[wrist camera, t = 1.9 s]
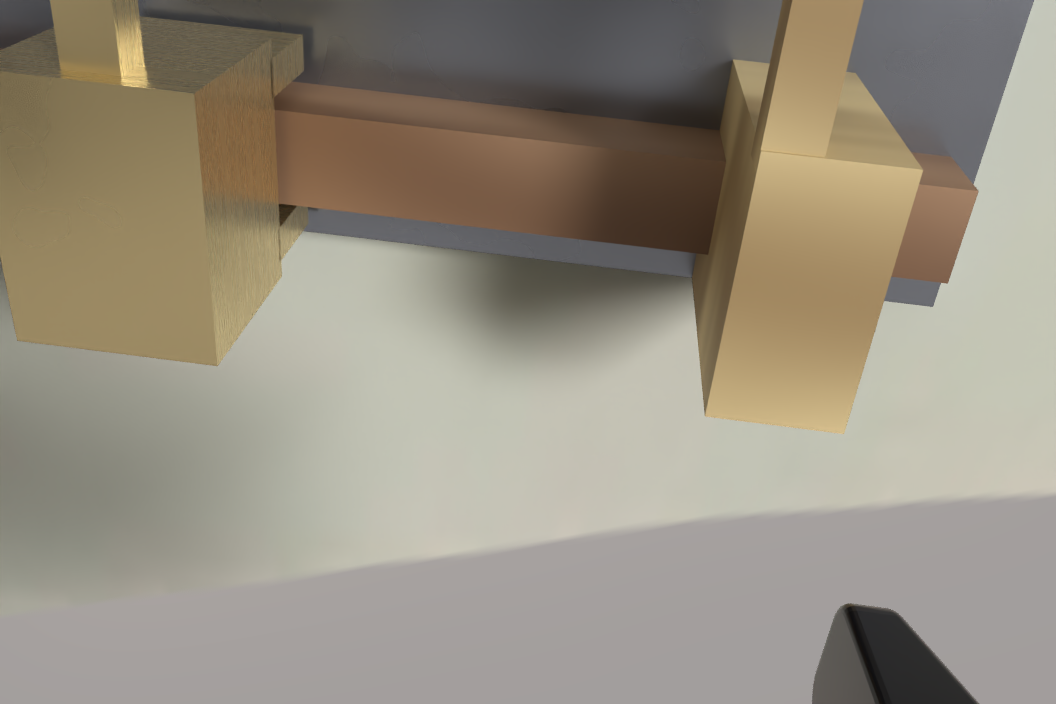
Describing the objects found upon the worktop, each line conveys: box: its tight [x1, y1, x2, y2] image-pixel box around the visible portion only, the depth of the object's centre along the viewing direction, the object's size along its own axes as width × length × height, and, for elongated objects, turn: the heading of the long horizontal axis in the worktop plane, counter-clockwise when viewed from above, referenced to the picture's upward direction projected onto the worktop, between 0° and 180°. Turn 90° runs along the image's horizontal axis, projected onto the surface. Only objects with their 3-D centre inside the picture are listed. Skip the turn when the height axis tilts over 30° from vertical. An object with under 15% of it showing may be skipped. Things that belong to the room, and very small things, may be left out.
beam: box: [0, 0, 978, 434], centre depth 15 cm, size 7×25×5 cm, turn 85°
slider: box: [0, 0, 308, 366], centre depth 15 cm, size 7×3×5 cm, turn 175°
